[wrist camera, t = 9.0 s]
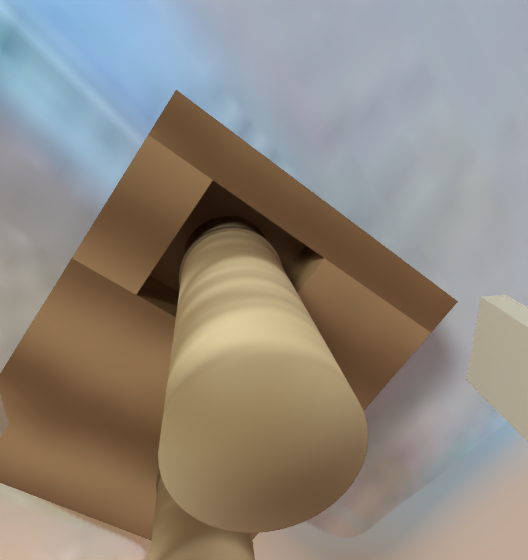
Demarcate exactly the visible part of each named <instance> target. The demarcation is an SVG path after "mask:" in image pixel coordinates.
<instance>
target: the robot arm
mask: <svg viewBox="0 0 528 560" xmlns="http://www.w3.org/2000/svg"><path fill="white" fill-rule="evenodd" d="M466 380H467V381H468V382H469V383H470V384H471V385H472V386H473V387H474V388H475V389H476V390H477V391H478V392H479V393H480V394H481V395H482V396H483V397H484V398H485V399H486V400H487V401H488V402H489V403H490V404H491V405H492V406H493V407H494V408H495V409H496V410H497V411H498V412H499V413H500V414H501V415H502V416H503V417H504V418H505V419H506V420H507V421H508V422H509V423H510V424H511V425H512V426H513V427H514V428H515V429H516V430H517V431H518V432H519V433H520V434H521V435H522V436H523V437H524V438H525V439H526V440H527V441H528V308H527V307H526V306H524V305H522V304H521V303H519V302H517V301H516V300H514V299H512V298H510V297H509V296H507V295H500V296H486V297H481V301H480V306H479V312H478V317H477V323H476V329H475V334H474V340H473V346H472V351H471V357H470V362H469V368H468V374H467V379H466ZM7 426H8V420H7V416H6V413H5V409H4V406H3V402H2V398H1V395H0V437H1V435H2V434H3V432H4V430H5V429H6V427H7Z"/></svg>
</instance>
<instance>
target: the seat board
mask: <svg viewBox="0 0 528 560" xmlns="http://www.w3.org/2000/svg"><path fill="white" fill-rule="evenodd" d="M222 216H234V217H239V218H243V219H245V220H247V221H249V222H251V223H253V224H254V225H255V226H257V227H258V228H259V229H260V230H261V231H262V233H263V234H264V236H265V237H266V239H267V240H268V241H269V242H270V243H271V245H272V246H273V247H274V249H275V250H276V252H277V254H278V256H279V258H280V260H281V263H282V266H283V269H284V271H285V272H286V274H287V276H288V278H289V280H290V281H291V283H292V285H293V287H294V288H295V290H296V292H297V294H298V295H299V297H300V299H301V301H302V302H303V304H304V306H305V308H306V309H307V311H308V313H309V315H310V316H311V318H312V320H313V322H314V323H315V325H316V327H317V329H318V331H319V332H320V334H321V336H322V338H323V339H324V341H325V343H326V345H327V346H328V348H329V350H330V352H331V353H332V355H333V357H334V359H335V360H336V362H337V364H338V366H339V367H340V369H341V371H342V373H343V374H344V376H345V378H346V380H347V382H348V383H349V385H350V387H351V389H352V390H353V392H354V394H355V396H356V397H357V399H358V401H359V403H360V405H361V407H362V409H363V411H364V410H365V409H366V407H367V406H368V405H369V404H370V403H371V402H372V401H373V399H374V398H375V397H376V396H377V395H378V394H379V392H380V391H381V390H382V389H383V388H384V387H385V385H386V384H387V383H388V382H389V381H390V380H391V378H392V377H393V376H394V375H395V374H396V373H397V372H398V370H399V369H400V368H401V367H402V366H403V365H404V363H405V362H406V361H407V360H408V359H409V358H410V356H411V355H412V354H413V353H414V352H415V351H416V349H417V348H418V347H419V346H420V345H421V344H422V343H423V341H424V340H425V339H426V338H427V337H428V336H429V334H430V333H431V332H432V331H433V330H434V329H435V327H436V326H437V325H438V324H439V323H440V322H441V320H442V319H443V318H444V317H445V316H446V315H447V313H448V312H449V311H450V310H451V309H452V308H453V307H454V305H455V304H456V303H457V302H458V301H456V300H455V299H454V298H452V297H451V296H450V295H448V294H447V293H446V292H444V291H443V290H442V289H440V288H439V287H438V286H436V285H435V284H434V283H433V282H431V281H430V280H429V279H427V278H426V277H425V276H423V275H422V274H421V273H419V272H418V271H417V270H415V269H414V268H413V267H411V266H410V265H409V264H407V263H406V262H405V261H403V260H402V259H401V258H399V257H398V256H397V255H395V254H394V253H393V252H391V251H390V250H389V249H387V248H386V247H385V246H383V245H382V244H381V243H379V242H378V241H377V240H375V239H374V238H373V237H371V236H370V235H369V234H367V233H366V232H365V231H363V230H362V229H361V228H359V227H358V226H357V225H355V224H354V223H353V222H351V221H350V220H349V219H347V218H346V217H345V216H343V215H342V214H341V213H339V212H338V211H337V210H335V209H334V208H333V207H331V206H330V205H329V204H327V203H326V202H325V201H323V200H322V199H321V198H319V197H318V196H317V195H315V194H314V193H313V192H311V191H310V190H309V189H307V188H306V187H305V186H303V185H302V184H301V183H299V182H298V181H297V180H295V179H294V178H293V177H291V176H290V175H289V174H288V173H286V172H285V171H284V170H282V169H281V168H280V167H278V166H277V165H276V164H274V163H273V162H272V161H270V160H269V159H268V158H266V157H265V156H264V155H262V154H261V153H260V152H258V151H257V150H256V149H254V148H253V147H252V146H250V145H249V144H248V143H246V142H245V141H244V140H242V139H241V138H240V137H238V136H237V135H236V134H234V133H233V132H232V131H230V130H229V129H228V128H226V127H225V126H224V125H222V124H221V123H220V122H218V121H217V120H216V119H214V118H213V117H212V116H210V115H209V114H208V113H206V112H205V111H204V110H202V109H201V108H200V107H198V106H197V105H196V104H194V103H193V102H192V101H190V100H189V99H188V98H186V97H185V96H184V95H182V94H181V93H180V92H178V91H177V90H176V91H175V93H174V94H173V96H172V97H171V99H170V101H169V102H168V104H167V106H166V107H165V109H164V110H163V112H162V114H161V115H160V117H159V118H158V120H157V122H156V123H155V125H154V127H153V128H152V130H151V131H150V133H149V135H148V136H147V138H146V139H145V141H144V143H143V144H142V146H141V148H140V149H139V151H138V152H137V154H136V156H135V157H134V159H133V160H132V162H131V164H130V165H129V167H128V169H127V170H126V172H125V173H124V175H123V177H122V178H121V180H120V181H119V183H118V185H117V186H116V188H115V189H114V191H113V193H112V194H111V196H110V198H109V199H108V201H107V202H106V204H105V206H104V207H103V209H102V210H101V212H100V214H99V215H98V217H97V219H96V220H95V222H94V223H93V225H92V227H91V228H90V230H89V231H88V233H87V235H86V236H85V238H84V240H83V241H82V243H81V244H80V246H79V248H78V249H77V251H76V252H75V254H74V256H73V257H72V259H71V260H70V262H69V264H68V265H67V267H66V269H65V270H64V272H63V273H62V275H61V277H60V278H59V280H58V281H57V283H56V285H55V286H54V288H53V290H52V291H51V293H50V294H49V296H48V298H47V299H46V301H45V302H44V304H43V306H42V307H41V309H40V311H39V312H38V314H37V315H36V317H35V319H34V320H33V322H32V323H31V325H30V327H29V328H28V330H27V332H26V333H25V335H24V336H23V338H22V340H21V341H20V343H19V344H18V346H17V348H16V349H15V351H14V352H13V354H12V356H11V357H10V359H9V361H8V362H7V364H6V365H5V367H4V369H3V370H2V372H1V373H0V395H1V398H2V402H3V406H4V409H5V413H6V416H7V420H8V426H7V427H6V429H5V430H4V432H3V434H2V435H1V437H0V483H3V484H5V485H8V486H10V487H13V488H16V489H18V490H21V491H24V492H26V493H29V494H31V495H34V496H37V497H39V498H42V499H44V500H47V501H50V502H52V503H55V504H57V505H60V506H63V507H65V508H68V509H71V510H73V511H76V512H78V513H81V514H84V515H86V516H89V517H91V518H94V519H97V520H99V521H102V522H105V523H107V524H110V525H113V526H115V527H118V528H120V529H123V530H126V531H128V532H131V533H133V534H136V535H139V536H141V537H144V538H146V539H149V540H151V548H150V556H149V560H255V558H254V550H253V542H252V540H253V539H254V537H255V536H256V535H257V534H258V533H259V532H258V533H243V532H234V531H228V530H224V529H219V528H216V527H213V526H210V525H208V524H205V523H203V522H201V521H199V520H197V519H196V518H194V517H193V516H191V515H190V514H188V513H187V512H186V511H184V510H183V509H182V508H181V507H180V506H179V505H178V504H177V503H176V502H175V501H174V499H173V498H172V497H171V496H170V494H169V492H168V491H167V489H166V487H165V485H164V482H163V480H162V477H161V474H160V469H159V461H158V451H159V442H160V435H161V427H162V420H163V412H164V405H165V397H166V389H167V382H168V374H169V367H170V359H171V351H172V344H173V336H174V329H175V321H176V314H177V306H178V298H179V291H180V286H179V273H180V266H181V263H182V259H183V257H184V253H185V248H186V245H187V242H188V240H189V238H190V236H191V235H192V234H193V232H194V231H195V230H196V229H197V228H198V227H199V226H200V225H202V224H203V223H205V222H207V221H208V220H211V219H213V218H217V217H222Z"/></svg>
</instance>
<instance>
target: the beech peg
mask: <svg viewBox="0 0 528 560" xmlns="http://www.w3.org/2000/svg"><path fill="white" fill-rule="evenodd" d="M179 286H180V291H179V298H178V306H177V314H176V321H175V329H174V336H173V344H172V351H171V359H170V367H169V374H168V382H167V389H166V397H165V405H164V412H163V420H162V427H161V435H160V442H159V451H158V461H159V469H160V474H161V477H162V480H163V482H164V485H165V487H166V489H167V491H168V492H169V494H170V496H171V497H172V498H173V499H174V501H175V502H176V503H177V504H178V505H179V506H180V507H181V508H182V509H183V510H184V511H186V512H187V513H188V514H190V515H191V516H193V517H194V518H196V519H197V520H199V521H201V522H203V523H205V524H208V525H210V526H213V527H216V528H219V529H224V530H228V531H234V532H243V533H258V532H269V531H274V530H280V529H284V528H287V527H290V526H294V525H296V524H299V523H301V522H304V521H306V520H308V519H310V518H312V517H314V516H316V515H318V514H319V513H321V512H322V511H324V510H325V509H327V508H328V507H329V506H331V505H332V504H333V503H334V502H336V501H337V500H338V499H339V498H340V497H341V496H342V495H343V494H344V493H345V492H346V491H347V489H348V488H349V487H350V486H351V484H352V483H353V481H354V480H355V478H356V477H357V475H358V473H359V471H360V469H361V467H362V465H363V462H364V459H365V456H366V452H367V446H368V426H367V420H366V417H365V414H364V411H363V409H362V407H361V405H360V403H359V401H358V399H357V397H356V396H355V394H354V392H353V390H352V389H351V387H350V385H349V383H348V382H347V380H346V378H345V376H344V374H343V373H342V371H341V369H340V367H339V366H338V364H337V362H336V360H335V359H334V357H333V355H332V353H331V352H330V350H329V348H328V346H327V345H326V343H325V341H324V339H323V338H322V336H321V334H320V332H319V331H318V329H317V327H316V325H315V323H314V322H313V320H312V318H311V316H310V315H309V313H308V311H307V309H306V308H305V306H304V304H303V302H302V301H301V299H300V297H299V295H298V294H297V292H296V290H295V288H294V287H293V285H292V283H291V281H290V280H289V278H288V276H287V274H286V272H285V271H284V269H283V266H282V263H281V260H280V258H279V256H278V254H277V252H276V250H275V249H274V247H273V246H272V245H271V243H270V242H269V241H268V240H267V239H266V237H265V236H264V234H263V233H262V231H261V230H260V229H259V228H258V227H257V226H255V225H254V224H253V223H251V222H249V221H247V220H245V219H243V218H239V217H234V216H222V217H217V218H213V219H211V220H208V221H207V222H205V223H203V224H202V225H200V226H199V227H198V228H197V229H196V230H195V231H194V232H193V234H192V235H191V236H190V238H189V240H188V242H187V245H186V248H185V253H184V257H183V259H182V263H181V266H180V273H179Z"/></svg>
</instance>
